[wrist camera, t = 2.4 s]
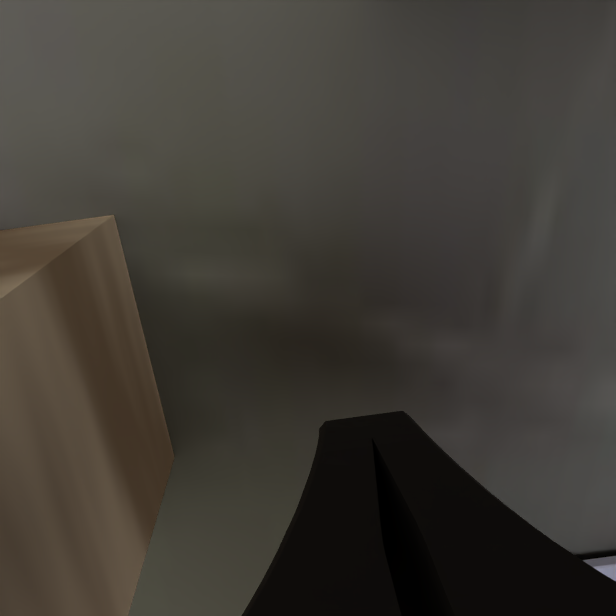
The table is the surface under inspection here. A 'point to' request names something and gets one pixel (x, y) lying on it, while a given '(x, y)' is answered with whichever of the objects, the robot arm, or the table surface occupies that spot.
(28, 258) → the maple block
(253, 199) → the table surface
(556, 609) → the robot arm
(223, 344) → the table surface
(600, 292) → the table surface
